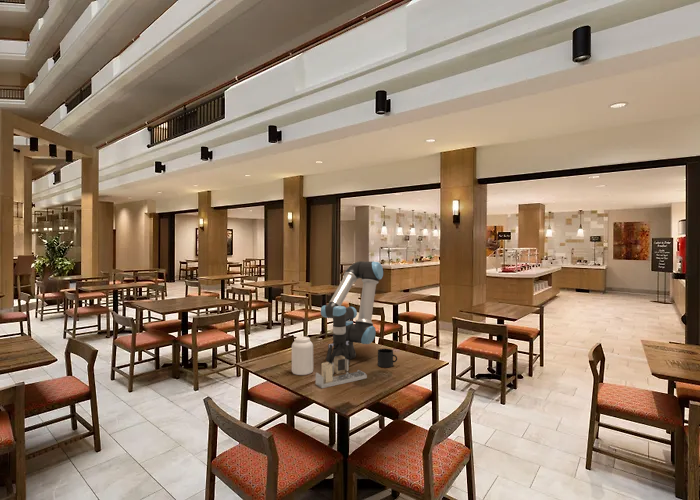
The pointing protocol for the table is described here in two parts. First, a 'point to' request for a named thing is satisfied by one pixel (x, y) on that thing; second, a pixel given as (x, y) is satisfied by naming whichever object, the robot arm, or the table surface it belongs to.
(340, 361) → the beige upright block
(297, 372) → the white jar
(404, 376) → the table surface
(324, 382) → the rail
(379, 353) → the mug
